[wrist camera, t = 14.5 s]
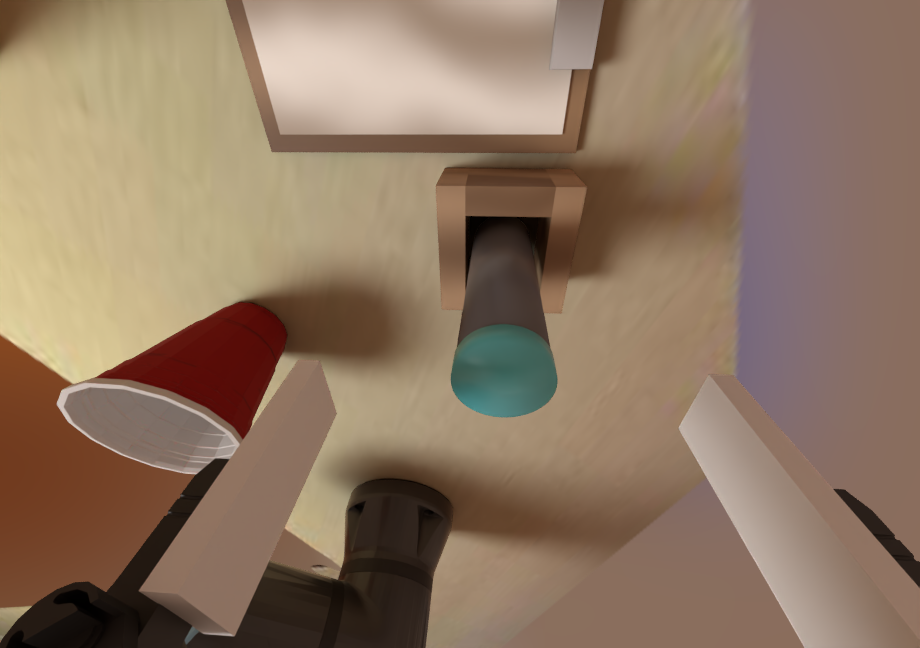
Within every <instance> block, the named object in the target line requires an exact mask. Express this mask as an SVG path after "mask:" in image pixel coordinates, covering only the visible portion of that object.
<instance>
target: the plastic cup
mask: <svg viewBox="0 0 920 648" xmlns="http://www.w3.org/2000/svg"><path fill="white" fill-rule="evenodd" d="M286 339H287V333H286V330H285V327H284V325H283V324H282V322H281V321H280V320H279V319H278V318H277V316H276V315H274V314H273V313H271V312H270V311H268V310H267V309H266V308H264V307H261V306H258V305H256V304H253V303H242V302H239V303H236V304H233V305H231V306H228V307H225V308H223V309H221V310H219V311H217V312H216V313H214V314H212V315H210V316H208V317H207V318H205V319H203V320H200V321H197V322H195V323H193V324H192V325H190V326H188V327H186V328H185V329H183V330H181V331H179V332H178V333H176V334H174V335H172V336H171V337H169V338H167V339H165V340H164V341H162V342H160V343H158V344H157V345H155V346H153V347H151V348H150V349H148V350H146V351H144V352H143V353H141V354H139V355H137V356H136V357H134V358H132V359H129V360H126V361H124V362H123V363H121V364H119V365H118V366H116V367H115V368H113V369H111V370H108V371H105V372H104V373H102V374H100V375H99V376H97V377H95V378H92V379H89V380H86V381H82V382H79V383H76V384H73V385H70V386H69V387H67V388H65V389H63V390H62V391H61V394H60V397H59V400H58V402H57V405H58V407H59V408H60V410H61V412H62V413H63V415H64V416H65V418H66V419H67V421H68V422H69V423H70V424H72V425H73V426H74V427H76V428H77V429H78V430H80V431H81V432H82V433H83V434H85V435H86V436H87V437H89V438H90V439H91V440H93V441H95V442H97V443H99V444H101V445H103V446H105V447H107V448H109V449H111V450H113V451H115V452H116V453H119V454H120V455H123V456H126V457H129V458H131V459H134V460H137V461H140V462H142V463H145V464H148V465H151V466H154V467H158V468H163V469H168V470H172V471H176V472H181V473H186V474H197V473H198V472H200V471H201V470H202V469H203V468H204V467H206V466H207V465H208V464H209V463H210V462H211V461H213V460H214V459H215V458H222V459H230V458H231V457H232V455H233V454H234V452H235V451H236V449H237V448H238V446H239V445H240V444H241V442H242V441H243V439H244V438H245V436H246V435H247V433H248V432H249V430H250V428H251V426H252V420H253V418H254V416H255V414H256V411H257V409H258V407H259V405H260V403H261V400H262V398H263V396H264V394H265V392H266V389H267V387H268V385H269V383H270V381H271V378H272V376H273V374H274V372H275V367H276V365H277V363H278V361H279V359H280V357H281V355H282V352H283V350H284V348H285V344H286Z"/></svg>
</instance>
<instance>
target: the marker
mask: <svg viewBox="0 0 920 648" xmlns="http://www.w3.org/2000/svg"><path fill="white" fill-rule="evenodd" d="M451 385H452V389H453V391H454V393H455V395H456V396H457V397H458V399H459V400H460V401H461V402H462V403H463V404H465V405H466V406H467V407H469V408H471V409H472V410H474V411H476V412H479V413H482V414H485V415H489V416H494V417H516V416H521V415H526V414H529V413H531V412H534V411H536V410H538V409H539V408H541V407H542V406H544V405H545V404H546V403H547V402H548V401H549V400H550V399H551V398H552V396H553V395H554V393H555V391H556V388H557V373H556V368H555V363H554V358H553V354H552V351H551V348H550V344H549V338H548V333H547V328H546V322H545V317H544V311H543V306H542V300H541V295H540V290H539V284H538V279H537V273H536V268H535V263H534V257H533V252H532V246H531V241H530V236H529V232H528V229H527V227H526V226H525V224H524V223H523V222H522V221H521V220H519V219H518V218H516V217H506V216H491V217H489V218H488V219H486V220H485V221H483V222H482V223H481V224H480V226H479V227H478V229H477V230H476V233H475V236H474V242H473V248H472V255H471V261H470V267H469V274H468V280H467V286H466V293H465V299H464V306H463V312H462V318H461V325H460V331H459V337H458V344H457V349H456V351H455V355H454V360H453V366H452V373H451Z"/></svg>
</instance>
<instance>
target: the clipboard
mask: <svg viewBox="0 0 920 648" xmlns="http://www.w3.org/2000/svg"><path fill="white" fill-rule="evenodd" d="M226 3H227V7H228V10H229V13H230V16H231V20H232V23H233V26H234V30H235V33H236V36H237V39H238V43H239V46H240V49H241V52H242V56H243V59H244V62H245V66H246V69H247V72H248V75H249V79H250V82H251V85H252V88H253V92H254V95H255V98H256V102H257V105H258V108H259V111H260V115H261V118H262V121H263V125H264V128H265V131H266V134H267V138H268V141H269V144H270V147H271V151H272V152H423V153H576V149H577V143H578V137H579V132H580V126H581V120H582V115H583V109H584V103H585V97H586V92H587V86H588V80H589V75H590V69H592V66H593V61H594V55H595V49H596V44H597V38H598V33H599V27H600V21H601V16H602V10H603V4H604V0H226Z"/></svg>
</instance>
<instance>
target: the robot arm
mask: <svg viewBox="0 0 920 648" xmlns="http://www.w3.org/2000/svg"><path fill="white" fill-rule="evenodd" d="M336 414H337V413H336V410H335V406H334V403H333V400H332V397H331V394H330V391H329V388H328V385H327V382H326V379H325V376H324V372H323V369H322V366H321V363H320V361H316V360H298V361H297V363H296V364H295V365H294V367H293V368H292V370H291V371H290V373H289V374H288V376H287V377H286V378H285V380H284V381H283V383H282V384H281V386H280V387H279V389H278V390H277V392H276V393H275V394H274V396H273V397H272V399H271V400H270V402H269V403H268V405H267V406H266V407H265V409H264V410H263V412H262V413H261V415H260V416H259V418H258V419H257V420H256V422H255V423H254V425H253V426H252V428H251V429H250V431H249V432H248V433H247V435H246V436H245V438H244V439H243V441H242V442H241V444H240V445H239V446H238V448H237V449H236V451H235V452H234V454H233V455H232V457H231V458H230V459H222V458H215V459H214V460H213V461H211V462H210V463H209V464H208V465H207V466H206V467H204V468H203V469H202V470H201V471H200V472H198V473H197V474H196V475H195V476H194V478H193V479H192V480H191V482H190V483H189V484H188V486H187V487H186V488H185V490H184V491H183V492H182V494H181V497H180V498H179V499H177V500H176V502H175V503H174V504H173V506H172V507H171V509H170V510H169V511H168V515H167V516H164V518H163V519H162V520H161V521H160V523H159V524H158V525H157V527H156V528H155V530H154V531H153V532H152V533H151V535H150V536H149V537H148V539H147V540H146V541H145V543H144V544H143V546H142V547H141V548H140V550H139V551H138V552H137V553H136V555H135V556H134V557H133V559H132V560H131V561H130V563H129V564H128V565H127V567H126V568H125V569H124V571H123V572H122V574H121V575H120V576H119V577H118V579H117V580H116V581H115V583H114V584H113V585H112V586H111V587H110V588H109V589H108V591H107V592H105V591H103V590H101V589H100V588H98V587H96V586H95V585H93V584H91V583H90V582H75V583H72V584H69V585H67V586H64V587H62V588H60V589H57V590H55V591H54V592H52V593H50V594H49V595H47V596H46V597H44V598H43V599H41V600H40V601H38V602H37V603H36V604H35V605H33V606H32V607H31V608H30V609H29V610H28V611H27V612H26V613H24V614H23V615H22V616H21V617H20V618H19V619H18V620H17V621H16V622H15V624H14V625H13V626H12V627H11V629H10V630H9V631H8V632H7V634H6V635H5V636H4V637H3V639H2V641H1V643H0V648H426V639H427V630H428V620H429V611H430V602H431V592H432V584H433V576H434V572H435V569H436V567H437V564H438V562H439V559H440V557H441V554H442V551H443V549H444V546H445V544H446V541H447V539H448V536H449V534H450V531H451V527H452V517H453V509H452V506H451V504H450V502H449V501H448V500H447V499H446V498H445V497H444V496H443V495H441V494H440V493H438V492H437V491H435V490H433V489H431V488H428V487H426V486H423V485H420V484H417V483H413V482H408V481H402V480H376V481H371V482H367V483H364V484H362V485H360V486H358V487H357V488H355V489H354V491H353V492H352V494H351V496H350V499H349V502H348V505H347V508H346V516H345V549H344V561H343V565H342V568H341V571H340V575H339V578H338V580H336V579H333V578H330V577H327V576H323V575H320V574H316V573H312V572H309V571H306V570H302V569H298V568H295V567H291V566H288V565H284V564H281V563H277V562H274V561H270V558H271V556H272V554H273V552H274V549H275V547H276V545H277V543H278V540H279V538H280V536H281V534H282V532H283V530H284V527H285V525H286V523H287V521H288V519H289V517H290V514H291V512H292V510H293V508H294V506H295V503H296V501H297V499H298V497H299V495H300V493H301V490H302V488H303V486H304V484H305V482H306V479H307V477H308V475H309V473H310V471H311V469H312V466H313V464H314V462H315V460H316V458H317V455H318V453H319V451H320V449H321V447H322V444H323V442H324V440H325V438H326V436H327V434H328V431H329V429H330V427H331V425H332V423H333V420H334V418H335V416H336ZM679 430H680V432H681V434H682V435H683V437H684V439H685V441H686V442H687V444H688V446H689V447H690V449H691V451H692V453H693V454H694V456H695V458H696V460H697V461H698V463H699V465H700V467H701V468H702V470H703V472H704V474H705V475H706V477H707V479H708V480H709V482H710V484H711V486H712V487H713V489H714V491H715V493H716V494H717V496H718V498H719V500H720V501H721V503H722V505H723V506H724V508H725V510H726V512H727V513H728V515H729V517H730V519H731V520H732V522H733V524H734V526H735V527H736V529H737V531H738V533H739V534H740V536H741V538H742V539H743V541H744V543H745V545H746V547H747V548H748V550H749V552H750V554H751V555H752V557H753V559H754V560H755V562H756V564H757V566H758V567H759V569H760V571H761V573H762V574H763V576H764V578H765V580H766V581H767V583H768V585H769V587H770V588H771V590H772V592H773V594H774V595H775V597H776V599H777V600H778V602H779V604H780V606H781V607H782V609H783V611H784V613H785V614H786V616H787V618H788V620H789V621H790V623H791V625H792V627H793V628H794V630H795V632H796V633H797V635H798V637H799V639H800V640H801V642H802V644H803V646H804V647H805V648H920V562H919V561H916V560H915V559H914V556H913V554H912V553H911V552H910V551H909V550H908V549H907V548H906V547H905V546H904V545H903V544H902V543H901V541H900V540H896V539H895V537H894V536H895V535H894V534H893V533H892V532H891V531H890V530H889V528H887V526H886V525H885V524H884V523H883V522H882V521H881V520H880V519H879V518H878V517H877V516H876V514H875V513H874V512H873V511H872V510H871V509H869V508H868V507H867V506H865V505H864V504H863V503H861V502H860V501H859V500H857V499H856V498H855V497H853V496H852V495H851V494H849V493H848V492H847V491H846V490H842V489H832V487H831V486H830V485H829V484H828V483H827V482H826V481H825V480H824V478H823V477H822V476H821V475H820V474H819V473H818V471H817V470H816V469H815V468H814V467H813V466H812V465H811V464H810V462H809V461H808V460H807V459H806V458H805V457H804V455H803V454H802V453H801V452H800V451H799V450H798V449H797V447H796V446H795V445H794V444H793V443H792V442H791V441H790V439H789V438H788V437H787V436H786V435H785V434H784V433H783V432H782V430H781V429H780V428H779V427H778V426H777V425H776V423H775V422H774V421H773V420H772V419H771V418H770V417H769V415H768V414H767V413H766V412H765V411H764V410H763V409H762V407H761V406H760V405H759V404H758V403H757V402H756V401H755V399H753V397H752V396H751V395H750V394H749V393H748V391H747V390H746V389H745V388H744V387H743V386H742V385H741V384H740V382H739V381H738V380H737V379H736V378H735V377H734V375H719V374H709V375H708V377H707V378H706V380H705V382H704V384H703V385H702V387H701V389H700V391H699V392H698V394H697V396H696V398H695V400H694V401H693V403H692V405H691V407H690V408H689V410H688V412H687V414H686V415H685V417H684V419H683V421H682V423H681V424H680V426H679Z"/></svg>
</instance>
